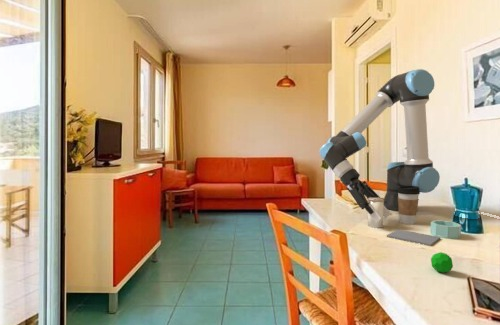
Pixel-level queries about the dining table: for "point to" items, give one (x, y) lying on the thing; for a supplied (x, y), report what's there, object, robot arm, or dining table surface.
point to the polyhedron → (441, 262)
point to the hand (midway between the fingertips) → (383, 218)
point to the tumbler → (378, 206)
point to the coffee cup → (408, 203)
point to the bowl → (445, 229)
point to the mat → (414, 237)
